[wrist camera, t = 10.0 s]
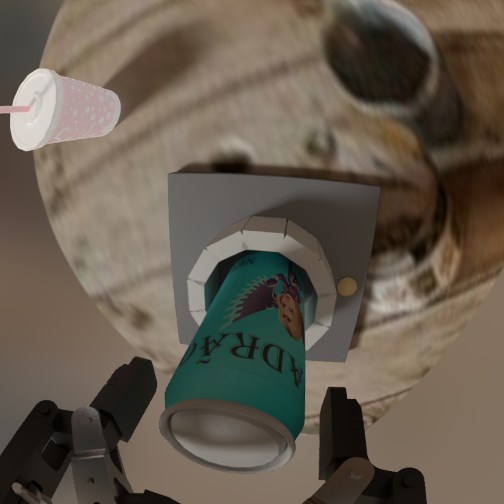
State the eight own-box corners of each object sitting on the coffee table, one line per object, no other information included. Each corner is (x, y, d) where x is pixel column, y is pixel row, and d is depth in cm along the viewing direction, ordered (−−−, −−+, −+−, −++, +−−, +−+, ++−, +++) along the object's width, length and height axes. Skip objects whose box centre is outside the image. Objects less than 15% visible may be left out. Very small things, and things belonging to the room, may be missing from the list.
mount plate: (175, 172, 22) (142, 179, 17) (375, 185, 20) (398, 195, 15) (184, 334, 28) (164, 369, 23) (343, 352, 26) (349, 392, 21)
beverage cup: (76, 144, 23) (-43, 161, 10) (84, 85, 20) (-32, 74, 7) (122, 145, 22) (-11, 160, 9) (132, 80, 20) (6, 50, 7)
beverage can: (318, 272, 22) (337, 445, 8) (274, 321, 24) (245, 486, 10) (258, 229, 21) (188, 372, 7) (218, 283, 23) (133, 433, 9)
